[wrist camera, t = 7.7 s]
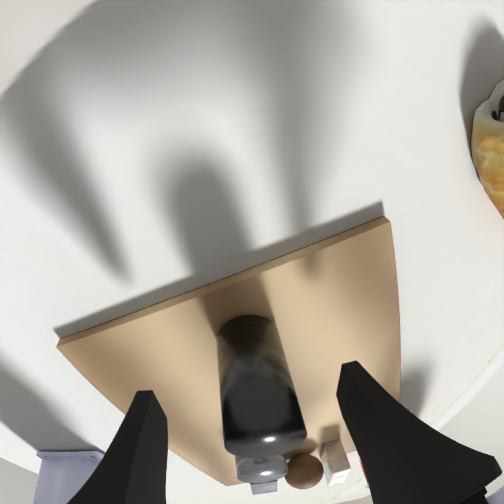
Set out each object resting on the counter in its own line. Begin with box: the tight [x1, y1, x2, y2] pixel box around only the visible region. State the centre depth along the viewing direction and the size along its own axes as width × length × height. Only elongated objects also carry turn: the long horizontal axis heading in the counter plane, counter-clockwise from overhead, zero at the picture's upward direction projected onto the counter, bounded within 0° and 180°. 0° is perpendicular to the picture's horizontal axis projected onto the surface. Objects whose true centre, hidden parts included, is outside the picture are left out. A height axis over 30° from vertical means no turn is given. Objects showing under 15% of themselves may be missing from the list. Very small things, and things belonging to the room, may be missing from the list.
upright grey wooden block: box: [320, 439, 351, 486], centre depth 20 cm, size 4×1×3 cm, turn 5°
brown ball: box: [285, 454, 324, 489], centre depth 20 cm, size 3×3×3 cm
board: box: [57, 216, 401, 486], centre depth 18 cm, size 17×22×1 cm
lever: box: [216, 315, 307, 494], centre depth 15 cm, size 18×4×5 cm, turn 3°
